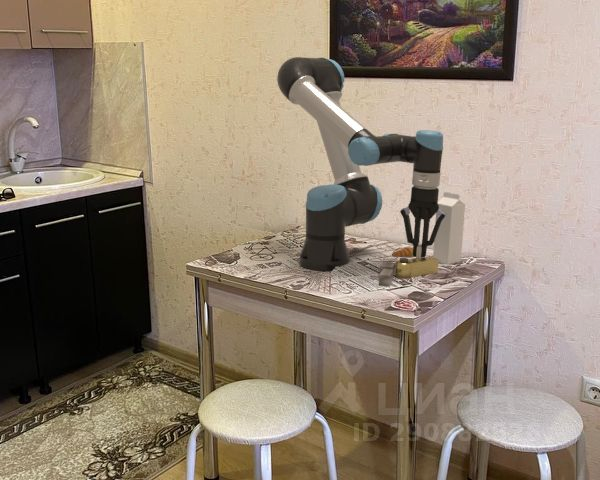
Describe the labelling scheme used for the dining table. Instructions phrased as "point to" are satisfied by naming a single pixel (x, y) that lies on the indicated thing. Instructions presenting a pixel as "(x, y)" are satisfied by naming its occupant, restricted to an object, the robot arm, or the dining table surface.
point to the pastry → (404, 252)
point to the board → (388, 272)
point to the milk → (450, 229)
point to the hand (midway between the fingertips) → (418, 267)
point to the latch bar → (416, 267)
